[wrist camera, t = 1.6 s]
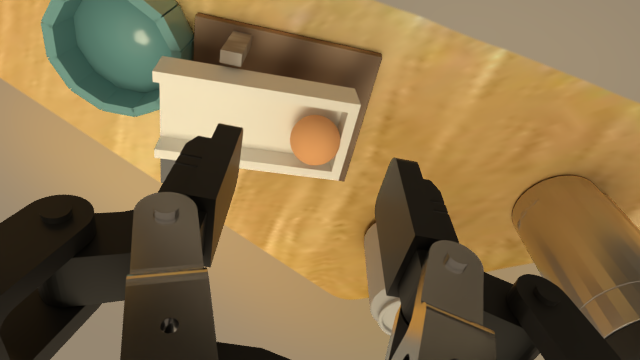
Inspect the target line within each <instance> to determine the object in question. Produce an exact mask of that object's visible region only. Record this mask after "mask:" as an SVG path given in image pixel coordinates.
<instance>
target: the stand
mask: <svg viewBox="0 0 640 360" xmlns="http://www.w3.org/2000/svg"><path fill="white" fill-rule="evenodd" d="M381 60H382V55H381V54H380V53H375V52H371V51H366V50H362V49H357V48H353V47H349V46H344V45H340V44H335V43H331V42H326V41H322V40H317V39H313V38H308V37H304V36H299V35H295V34H290V33H286V32H281V31H277V30H272V29H268V28H264V27H259V26H255V25H250V24H246V23H241V22H237V21H232V20H228V19H223V18H219V17H214V16H210V15H205V14H201V13H198V14H197V15H196V16H195V35H194V61H196V62H202V63H208V64H214V65H219V66H225V67H231V68H237V69H243V70H249V71H255V72H260V73H266V74H272V75H278V76H284V77H290V78H296V79H301V80H307V81H313V82H319V83H325V84H331V85H337V86H343V87H348V88H354V89H355V90H356V93H357V96H358V98H359V101H360V104H361V107H360V110H359V113H358V117H357V120H356V123H355V127H354V130H353V134H352V137H351V140H350V144H349V147H348V150H347V154H346V157H345V160H344V164H343V167H342V171H341V174H340V177H339V181H344V180H345V177H346V174H347V171H348V167H349V164H350V161H351V158H352V154H353V151H354V148H355V145H356V141H357V138H358V135H359V131H360V128H361V125H362V122H363V118H364V115H365V112H366V109H367V105H368V102H369V99H370V96H371V92H372V89H373V86H374V83H375V79H376V76H377V73H378V70H379V66H380V63H381Z"/></svg>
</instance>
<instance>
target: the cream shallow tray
mask: <svg viewBox="0 0 640 360" xmlns="http://www.w3.org/2000/svg"><path fill="white" fill-rule="evenodd" d="M152 77H153V82H156V83H159V86H160V138H159V140H158V142H157V144H156V147H155V149H154V156H155V158H161V183H163V182H164V181H165V179H166V177H167V175H168V174H169V172H170V170H171V168H172V167H173V165H174V164H175V161H176V160H177V158H178V156H180V153H181V151H182V149H183V147H184V146H185V144H186V143H187V142H189V141H190V140H192V139H193V138H195V137H197V136H202V137H208V138H212V136H213V133H214V131H215V129H216V127H217V125H218V124H219V123H221V124H226V125H231V126H237V127H242V128H243V139H242V148H241V156H240V164H239V168H241V169H249V170H257V171H265V172H273V173H281V174H289V175H297V176H305V177H313V178H321V179H329V180H338V181H339V177H340V174H341V171H342V167H343V164H344V160H345V157H346V154H347V150H348V147H349V144H350V140H351V137H352V134H353V130H354V127H355V123H356V120H357V117H358V113H359V110H360V107H361V104H360V101H359V98H358V96H357V93H356V90H355V89H354V88H348V87H343V86H337V85H331V84H325V83H319V82H313V81H307V80H301V79H296V78H290V77H284V76H278V75H272V74H266V73H260V72H255V71H249V70H243V69H237V68H231V67H225V66H219V65H214V64H208V63H202V62H196V61H190V60H184V59H178V58H173V57H167V56H162V57H161V58H160V60H159V62H158V63H157V65H156V66H155V68H154V69H153V71H152ZM310 115H321V116H324V117H326V118H328V119H330V120H331V121H332V122H333V123H334V124H335V125H336V127H337V129H338V131H339V134H340V147H339V150H338V152H337V154H336V155H335V156H334V158H333V159H331V160H330V161H329V162H327V163H325V164H322V165H308V164H305V163H303V162H302V161H300V160H299V159H298V158H297V157H296V156H295V155H294V153H293V151H292V149H291V145H290V135H291V131H292V129H293V127H294V126H295V124H296V123H297V122H298V121H299V120H301V119H302V118H304V117H306V116H310Z"/></svg>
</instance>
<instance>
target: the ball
mask: <svg viewBox="0 0 640 360" xmlns="http://www.w3.org/2000/svg"><path fill="white" fill-rule="evenodd" d="M290 145H291V149H292V151H293V153H294V155H295V156H296V157H297V158H298V159H299V160H300V161H302V162H303V163H305V164H308V165H322V164H325V163H327V162H329V161H330V160H331V159H333V158H334V156H335V155H336V154H337V152H338V150H339V147H340V134H339V131H338V129H337V127H336V125H335V124H334V123H333V122H332V121H331V120H330V119H328V118H326V117H324V116H321V115H310V116H306V117H304V118H302V119H301V120H299V121H298V122H297V123H296V124H295V126H294V127H293V129H292V131H291V135H290Z"/></svg>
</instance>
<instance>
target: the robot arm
mask: <svg viewBox="0 0 640 360" xmlns="http://www.w3.org/2000/svg"><path fill="white" fill-rule="evenodd" d="M242 139H243V128H242V127H237V126H231V125H226V124H221V123H219V124H218V125H217V127H216V129H215V131H214V133H213V136H212V138H208V137H202V136H197V137H195V138H193V139H192V140H190V141H189V142H187V143H186V144H185V146H184V147H183V149H182V151H181V153H180V156H178V158H177V160H176V161H175V164H174V165H173V167H172V168H171V170H170V172H169V174H168V175H167V177H166V179H165V181H164V182H163V184H162V186H161V188H160V190H159V191H158V193H154V194H151V195H149V196H146V197H144V198H143V199H142V200H140V201H139V202H138V203H137V205H136V206H135V208H134V210H130V211H125V212H113V213H94V208H93V206H92V205H91V203H90V202H88V201H87V200H86V199H83V198H81V197H78V196H73V195H54V196H49V197H45V198H42V199H39V200H36V201H34V202H33V203H31V204H29V205H27V206H26V207H24V208H23V209H21V210H20V211H18V212H17V213H15V214H14V215H12V216H11V217H9V218H8V219H6V220H4V221H3V222H1V223H0V360H50V359H51V358H52V357H53V356H54V355H55V354H56V352H58V350H59V349H60V348H61V347H62V346H63V345H64V344H65V343H66V342H67V341H68V340H69V339H70V338H71V337H72V335H73V334H74V333H75V332H76V331H77V330H78V329H79V328H80V327H81V326H82V325H83V324H84V323H85V322H86V320H87V319H88V318H89V317H90V316H91V315H92V314H93V313H94V312H95V311H96V310H97V309H98V308H99V306H100V305H101V304H102V303H107V302H115V301H123V300H124V314H123V330H122V342H121V356H120V360H290V359H288V358H285V357H283V356H280V355H277V354H275V353H273V352H270V351H268V350H265V349H262V348H256V347H249V346H242V345H234V344H228V343H221V342H216V334H215V325H214V317H213V309H212V301H211V292H210V284H209V276H208V270H207V268H204V266H205V267H211V263H212V260H213V257H214V254H215V251H216V247H217V245H218V241H219V238H220V235H221V232H222V229H223V226H224V222H225V219H226V216H227V213H228V210H229V207H230V203H231V200H232V197H233V194H234V191H235V187H236V183H237V178H238V172H239V164H240V156H241V148H242ZM447 213H448V211H447V209H446V206H445V205H444V201H443V198H442V195H441V192H440V191H439V190H438V189H437V187H436V186H435V185H434V184H433V183H432V182H431V181H430V180H426V179H423V177H422V174H421V171H420V168H419V165H418V163H417V162H414V161H409V160H404V159H399V158H393V159H392V160H391V162H390V164H389V167H388V170H387V172H386V175H385V178H384V180H383V183H382V186H381V188H380V191H379V194H378V196H377V200H376V205H375V219H376V226H377V233H378V240H379V247H380V254H381V261H382V268H383V276H384V283H385V290H386V296H392V297H398V298H400V302H401V305H400V307H399V309H398V311H397V313H396V316H395V320H394V324H393V328H392V332H391V336H390V341H389V345H388V349H387V353H386V357H385V360H534V359H535V358H536V357H537V356H538V355H539V354H540V353H541V355H542V356H543V358H544V359H545V360H640V230H639V229H638V228H637V227H636V226H635V225H634V224H633V222H632V221H631V220H630V219H629V218H628V217H627V216H626V215H625V214H624V213H623V212H622V210H621V209H620V208H619V207H618V206H617V205H616V204H615V203H614V202H613V201H612V199H611V198H610V197H609V196H608V195H606V194H602V192H601V191H600V190H599V189H598V188H597V187H596V186H595V185H594V184H593V183H592V182H591V181H589V180H587V179H585V178H583V177H578V176H558V177H554V178H550V179H547V180H544V181H542V182H540V183H538V184H536V185H534V186H533V187H531V188H530V189H528V190H527V191H526V192H525V193H524V194H523V195H522V196H521V197H520V198H519V200H518V201H517V202H516V204H515V206H514V208H513V213H512V222H513V224H514V227H515V229H516V230H517V232H518V234H519V236H520V238H521V240H522V241H523V243H524V245H525V247H526V249H527V251H528V253H529V254H530V256H531V258H532V260H533V262H534V263H535V265H536V267H537V269H538V271H539V272H540V274H541V276H542V277H540V276H537V275H531V274H526V275H522V276H520V277H519V278H518V279H517V281H516V282H515V283H514V285H513V284H511V283H509V282H506V281H504V280H501V279H499V278H496V277H494V276H492V275H489V274H487V273H485V272H484V270H483V265H482V263H481V261H480V259H479V258H478V257H477V256H476V255H475V254H474V253H473V252H472V251H471V250H470V249H468V248H467V247H465V246H463V245H461V244H459V241H458V238H457V236H456V233H455V230H454V228H453V225H452V222H451V219H450V217H449V215H448V214H447Z"/></svg>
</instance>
